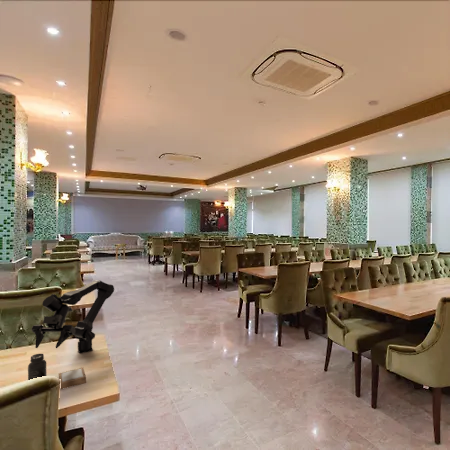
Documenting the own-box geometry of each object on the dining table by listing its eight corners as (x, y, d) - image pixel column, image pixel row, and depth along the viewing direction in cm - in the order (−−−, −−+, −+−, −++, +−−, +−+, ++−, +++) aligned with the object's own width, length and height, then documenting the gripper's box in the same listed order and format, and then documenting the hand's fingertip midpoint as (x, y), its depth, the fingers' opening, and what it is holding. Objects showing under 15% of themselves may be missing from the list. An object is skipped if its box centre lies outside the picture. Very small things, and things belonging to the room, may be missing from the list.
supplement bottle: (50, 380, 130) (50, 353, 130) (35, 388, 123) (35, 360, 123) (38, 377, 132) (38, 351, 132) (24, 385, 126) (23, 358, 125)
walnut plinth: (83, 372, 136) (83, 366, 136) (86, 382, 128) (86, 376, 128) (58, 378, 131) (58, 372, 131) (59, 389, 123) (59, 383, 123)
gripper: (33, 308, 139) (17, 340, 128) (72, 308, 139) (59, 340, 128) (43, 319, 147) (29, 350, 136) (80, 319, 147) (69, 350, 136)
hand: (46, 347), depth 134 cm, fingers open, 9 cm apart
